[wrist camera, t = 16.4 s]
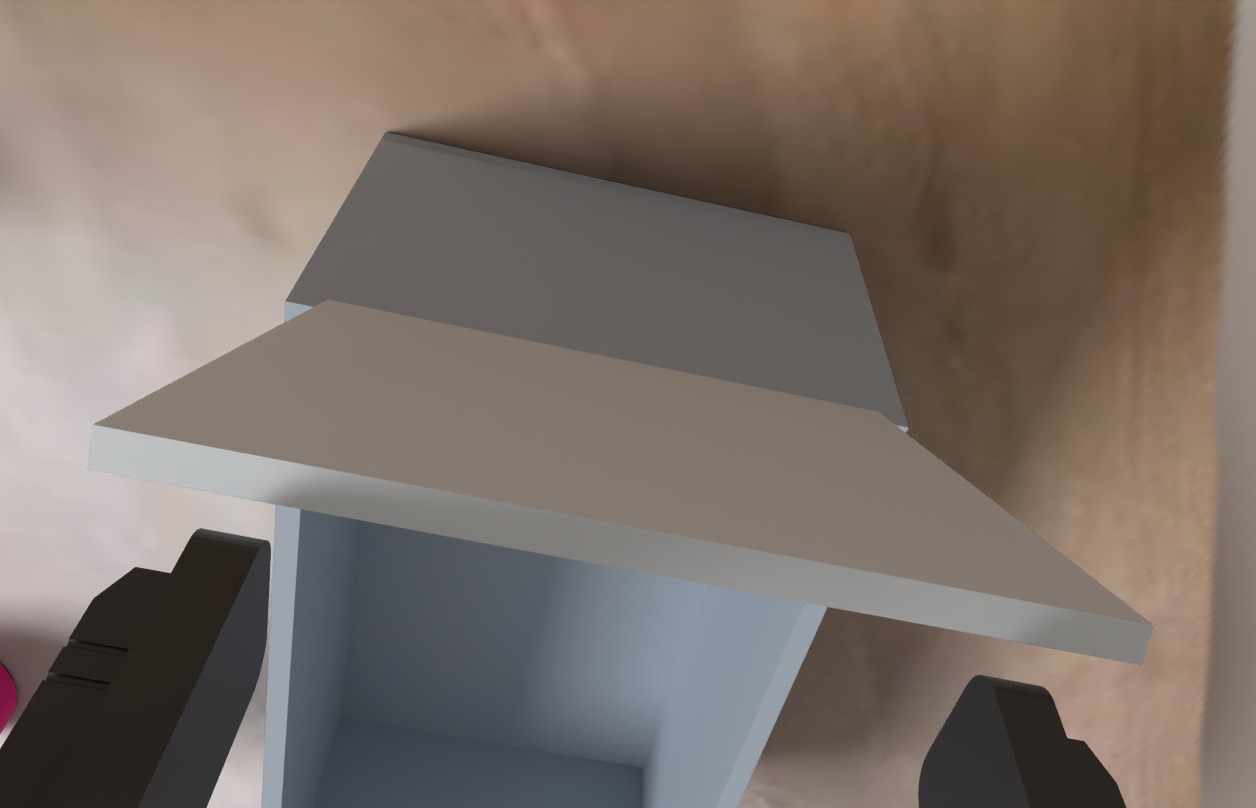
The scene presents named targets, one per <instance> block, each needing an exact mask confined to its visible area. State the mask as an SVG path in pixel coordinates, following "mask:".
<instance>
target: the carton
mask: <svg viewBox="0 0 1256 808" xmlns="http://www.w3.org/2000/svg"><path fill="white" fill-rule="evenodd" d="M326 300H332V301H337V302H342V303H347V304H352V305H357V306H362V307H367V308H372V309H376V310H381V311H386V312H391V313H396V314H401V315H406V316H411V317H416V318H421V319H426V320H430V321H435V322H440V323H445V324H450V325H455V326H460V327H465V328H470V329H475V330H480V331H484V332H489V333H494V334H499V335H504V336H509V337H514V338H519V339H524V340H529V341H534V342H538V343H543V344H548V345H553V346H558V347H563V348H568V349H573V350H578V351H583V352H588V353H592V354H597V355H602V356H607V357H612V358H617V359H622V360H627V361H632V362H637V363H642V364H646V365H651V366H656V367H661V368H666V369H671V370H676V371H681V372H686V373H691V374H696V375H700V376H705V377H710V378H715V379H720V380H725V381H730V382H735V383H740V384H745V385H750V386H754V387H759V388H764V389H769V390H774V391H779V392H784V393H789V394H794V395H799V396H804V397H808V398H813V399H818V400H823V401H828V402H833V403H838V404H843V405H848V406H853V407H857V408H862V409H867V410H872V411H877V412H879V413H881V414H882V415H883V416H884V417H886V418H887V419H888V420H890V421H891V422H892V423H893V424H895V425H896V426H897V427H899V428H900V429H901V430H902V431H904V432H905V433H906V432H907V430H908V428H909V427H908V424H907V421H906V417H905V414H904V411H903V407H902V404H901V401H900V397H899V394H898V391H897V388H896V384H895V381H894V378H893V374H892V371H891V368H890V364H889V361H888V358H887V354H886V351H885V348H884V344H883V341H882V338H881V335H880V331H879V328H878V325H877V321H876V318H875V315H874V311H873V308H872V305H871V301H870V298H869V295H868V292H867V288H866V285H865V282H864V278H863V275H862V272H861V268H860V265H859V262H858V258H857V255H856V252H855V248H854V245H853V242H852V239H851V235H850V234H849V233H845V232H840V231H836V230H831V229H827V228H822V227H817V226H813V225H808V224H804V223H799V222H795V221H790V220H785V219H781V218H776V217H772V216H767V215H763V214H758V213H753V212H749V211H744V210H740V209H735V208H731V207H726V206H722V205H717V204H712V203H708V202H703V201H699V200H694V199H690V198H685V197H680V196H676V195H671V194H667V193H662V192H658V191H653V190H649V189H644V188H639V187H635V186H630V185H626V184H621V183H617V182H612V181H607V180H603V179H598V178H594V177H589V176H585V175H580V174H575V173H571V172H566V171H562V170H557V169H553V168H548V167H544V166H539V165H534V164H530V163H525V162H521V161H516V160H512V159H507V158H502V157H498V156H493V155H489V154H484V153H480V152H475V151H471V150H466V149H461V148H457V147H452V146H448V145H443V144H439V143H434V142H429V141H425V140H420V139H416V138H411V137H407V136H402V135H397V134H393V133H388V132H385V134H384V136H383V137H382V139H381V141H380V142H379V144H378V146H377V148H376V149H375V151H374V153H373V154H372V156H371V158H370V159H369V161H368V163H367V164H366V166H365V168H364V169H363V171H362V173H361V175H360V176H359V178H358V180H357V181H356V183H355V185H354V186H353V188H352V190H351V191H350V193H349V195H348V196H347V198H346V200H345V202H344V203H343V205H342V207H341V208H340V210H339V212H338V213H337V215H336V217H335V218H334V220H333V222H332V223H331V225H330V227H329V229H328V230H327V232H326V234H325V235H324V237H323V239H322V240H321V242H320V244H319V245H318V247H317V249H316V250H315V252H314V254H313V255H312V257H311V259H310V261H309V262H308V264H307V266H306V267H305V269H304V271H303V272H302V274H301V276H300V277H299V279H298V281H297V282H296V284H295V286H294V288H293V289H292V291H291V293H290V294H289V296H288V298H287V299H286V301H285V320H284V323H285V322H287V321H289V320H290V319H292V318H294V317H296V316H298V315H300V314H302V313H304V312H305V311H307V310H309V309H311V308H313V307H315V306H317V305H319V304H320V303H322V302H324V301H326ZM826 610H827V607H826V606H820V605H815V604H810V603H804V602H799V601H793V600H788V599H783V598H777V597H772V596H766V595H761V594H756V593H750V592H745V591H739V590H734V589H729V588H723V587H718V586H712V585H707V584H702V583H696V582H691V581H686V580H680V579H675V578H669V577H664V576H659V575H653V574H648V573H642V572H637V571H632V570H626V569H621V568H615V567H610V566H605V565H599V564H594V563H588V562H583V561H578V560H572V559H567V558H561V557H556V556H551V555H545V554H540V553H535V552H529V551H524V550H518V549H513V548H508V547H502V546H497V545H491V544H486V543H481V542H475V541H470V540H464V539H459V538H454V537H448V536H443V535H437V534H432V533H427V532H421V531H416V530H410V529H405V528H400V527H394V526H389V525H384V524H378V523H373V522H367V521H362V520H357V519H351V518H346V517H340V516H335V515H330V514H324V513H319V512H313V511H308V510H303V509H297V508H292V507H286V506H281V505H276V510H275V531H274V552H273V573H272V594H271V615H270V636H269V658H268V679H267V700H266V721H265V742H264V763H263V784H262V805H261V808H737V807H738V805H739V802H740V800H741V798H742V796H743V793H744V791H745V789H746V787H747V785H748V782H749V780H750V778H751V776H752V774H753V771H754V769H755V767H756V765H757V762H758V760H759V758H760V756H761V754H762V751H763V749H764V747H765V745H766V742H767V740H768V738H769V736H770V734H771V731H772V729H773V727H774V725H775V723H776V720H777V718H778V716H779V714H780V711H781V709H782V707H783V705H784V703H785V700H786V698H787V696H788V694H789V692H790V689H791V687H792V685H793V683H794V680H795V678H796V676H797V674H798V672H799V669H800V667H801V665H802V663H803V661H804V658H805V656H806V654H807V652H808V649H809V647H810V645H811V643H812V641H813V638H814V636H815V634H816V632H817V630H818V627H819V625H820V623H821V621H822V618H823V616H824V614H825V612H826Z"/></svg>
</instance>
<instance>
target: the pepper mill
mask: <svg viewBox="0 0 1256 808" xmlns="http://www.w3.org/2000/svg"><path fill="white" fill-rule="evenodd" d="M16 705H17V692H16V687H15V685H14V683H13V680H12V678H11V676H10V675H9V674H8V672H7V671H6V670H5V669H4V667H3V666H2V665H1V664H0V734H1V732H2V731H3V729H4V727H5V726H6V724H7V723H8V721H9V719H10V718H11V716H12V715H13V713H14V711H15V709H16Z"/></svg>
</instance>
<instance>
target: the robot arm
mask: <svg viewBox="0 0 1256 808" xmlns="http://www.w3.org/2000/svg"><path fill="white" fill-rule="evenodd" d="M270 560H271V547H270V543H269V541H266V540H261V539H256V538H250V537H245V536H239V535H234V534H229V533H223V532H218V531H212V530H207V529H202V528H200V529H198V530H197V531H195V533H194V534H193V535H192V537H191V538H190V540H189V542H188V543H187V545H186V547H185V549H184V551H183V552H182V554H181V556H180V558H179V560H178V561H177V563H176V565H175V567H174V569H173V570H172V572H171V573H166V572H160V571H155V570H149V569H144V568H138V567H135V568H134V569H132V570H131V571H130V572H128V573H127V574H126V575H124V576H123V577H122V578H120V579H119V580H118V581H116V582H115V583H114V584H112V585H111V586H110V587H108V588H107V589H106V590H104V591H103V592H102V593H100V594H99V595H98V596H96V597H95V598H94V599H93V600H92V602H91V604H90V605H89V607H88V608H87V610H86V612H85V613H84V615H83V617H82V618H81V620H80V621H79V623H78V625H77V626H76V628H75V629H74V631H73V633H72V634H71V636H70V637H69V642H68V645H67V647H63V649H62V650H61V652H60V654H59V655H58V657H57V658H56V660H55V662H54V663H53V665H52V666H51V668H50V670H49V671H48V676H47V679H46V680H45V681H44V680H43V681H42V683H41V684H40V686H39V687H38V689H37V691H36V692H35V694H34V695H33V697H32V699H31V700H30V702H29V703H28V705H27V707H26V708H25V710H24V712H23V713H22V715H21V716H20V718H19V720H18V721H17V723H16V724H15V726H14V728H13V729H12V731H11V732H10V734H9V736H8V737H7V739H6V741H5V742H4V744H3V745H2V747H1V749H0V808H206V807H207V805H208V802H209V800H210V798H211V795H212V793H213V790H214V788H215V785H216V783H217V780H218V778H219V776H220V773H221V771H222V768H223V766H224V763H225V761H226V758H227V756H228V754H229V751H230V749H231V746H232V744H233V741H234V739H235V737H236V734H237V732H238V729H239V727H240V724H241V722H242V719H243V717H244V715H245V712H246V710H247V707H248V705H249V702H250V700H251V697H252V695H253V692H254V690H255V687H256V684H257V681H258V677H259V674H260V670H261V666H262V662H263V657H264V653H265V647H266V639H267V623H268V602H269V581H270ZM918 795H919V808H1126V806H1125V803H1124V801H1123V798H1122V796H1121V793H1120V790H1119V788H1118V785H1117V783H1116V782H1115V780H1114V779H1113V778H1112V776H1111V775H1110V774H1109V773H1108V771H1107V770H1106V769H1105V767H1104V766H1103V765H1102V764H1101V762H1100V761H1099V760H1098V758H1097V757H1096V756H1095V754H1094V753H1093V752H1092V751H1091V749H1090V748H1089V747H1088V745H1087V744H1086V743H1085V742H1084V741H1080V740H1075V739H1069V738H1067V736H1066V733H1065V730H1064V728H1063V725H1062V722H1061V719H1060V717H1059V714H1058V711H1057V708H1056V706H1055V703H1054V700H1053V698H1052V696H1051V695H1050V693H1049V692H1048V691H1047V690H1046V689H1045V688H1044V687H1042V686H1037V685H1032V684H1026V683H1021V682H1015V681H1010V680H1005V679H999V678H994V677H988V676H983V675H978V676H975V677H974V678H972V679H971V680H970V681H969V683H968V684H967V686H966V688H965V689H964V691H963V693H962V694H961V696H960V698H959V700H958V701H957V703H956V705H955V707H954V708H953V710H952V712H951V714H950V715H949V717H948V719H947V720H946V722H945V724H944V726H943V727H942V729H941V731H940V733H939V734H938V736H937V738H936V739H935V741H934V743H933V745H932V746H931V748H930V750H929V752H928V753H927V755H926V757H925V760H924V763H923V766H922V769H921V774H920V780H919V792H918Z"/></svg>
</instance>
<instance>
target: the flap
mask: <svg viewBox="0 0 1256 808" xmlns="http://www.w3.org/2000/svg"><path fill="white" fill-rule="evenodd" d="M88 470H92V471H98V472H103V473H109V474H114V475H119V476H125V477H130V478H135V479H141V480H146V481H152V482H157V483H162V484H168V485H173V486H179V487H184V488H189V489H195V490H200V491H206V492H211V493H216V494H222V495H227V496H233V497H238V498H243V499H249V500H254V501H260V502H265V503H270V504H276V505H281V506H286V507H292V508H297V509H303V510H308V511H313V512H319V513H324V514H330V515H335V516H340V517H346V518H351V519H357V520H362V521H367V522H373V523H378V524H384V525H389V526H394V527H400V528H405V529H410V530H416V531H421V532H427V533H432V534H437V535H443V536H448V537H454V538H459V539H464V540H470V541H475V542H481V543H486V544H491V545H497V546H502V547H508V548H513V549H518V550H524V551H529V552H535V553H540V554H545V555H551V556H556V557H561V558H567V559H572V560H578V561H583V562H588V563H594V564H599V565H605V566H610V567H615V568H621V569H626V570H632V571H637V572H642V573H648V574H653V575H659V576H664V577H669V578H675V579H680V580H686V581H691V582H696V583H702V584H707V585H712V586H718V587H723V588H729V589H734V590H739V591H745V592H750V593H756V594H761V595H766V596H772V597H777V598H783V599H788V600H793V601H799V602H804V603H810V604H815V605H820V606H826V607H831V608H836V609H842V610H847V611H853V612H858V613H863V614H869V615H874V616H880V617H885V618H890V619H896V620H901V621H907V622H912V623H917V624H923V625H928V626H934V627H939V628H944V629H950V630H955V631H961V632H966V633H971V634H977V635H982V636H987V637H993V638H998V639H1004V640H1009V641H1014V642H1020V643H1025V644H1031V645H1036V646H1041V647H1047V648H1052V649H1058V650H1063V651H1068V652H1074V653H1079V654H1085V655H1090V656H1095V657H1101V658H1106V659H1112V660H1117V661H1122V662H1128V663H1133V664H1138V665H1141V664H1142V661H1143V658H1144V655H1145V652H1146V649H1147V646H1148V643H1149V640H1150V636H1151V633H1152V630H1153V627H1154V625H1153V624H1152V623H1150V622H1149V621H1148V620H1146V619H1145V618H1144V617H1143V616H1141V615H1140V614H1139V613H1137V612H1136V611H1135V610H1133V609H1132V608H1131V607H1130V606H1128V605H1127V604H1126V603H1124V602H1123V601H1122V600H1121V599H1119V598H1118V597H1117V596H1115V595H1114V594H1113V593H1112V592H1110V591H1109V590H1108V589H1106V588H1105V587H1104V586H1103V585H1101V584H1100V583H1099V582H1097V581H1096V580H1095V579H1093V578H1092V577H1091V576H1090V575H1088V574H1087V573H1086V572H1084V571H1083V570H1082V569H1081V568H1079V567H1078V566H1077V565H1075V564H1074V563H1073V562H1072V561H1070V560H1069V559H1068V558H1066V557H1065V556H1064V555H1063V554H1061V553H1060V552H1059V551H1057V550H1056V549H1055V548H1053V547H1052V546H1051V545H1050V544H1048V543H1047V542H1046V541H1044V540H1043V539H1042V538H1041V537H1039V536H1038V535H1037V534H1035V533H1034V532H1033V531H1032V530H1030V529H1029V528H1028V527H1026V526H1025V525H1024V524H1023V523H1021V522H1020V521H1019V520H1017V519H1016V518H1015V517H1013V516H1012V515H1011V514H1010V513H1008V512H1007V511H1006V510H1004V509H1003V508H1002V507H1001V506H999V505H998V504H997V503H995V502H994V501H993V500H992V499H990V498H989V497H988V496H986V495H985V494H984V493H983V492H981V491H980V490H979V489H977V488H976V487H975V486H973V485H972V484H971V483H970V482H968V481H967V480H966V479H964V478H963V477H962V476H961V475H959V474H958V473H957V472H955V471H954V470H953V469H952V468H950V467H949V466H948V465H946V464H945V463H944V462H943V461H941V460H940V459H939V458H937V457H936V456H935V455H933V454H932V453H931V452H930V451H928V450H927V449H926V448H924V447H923V446H922V445H921V444H919V443H918V442H917V441H915V440H914V439H913V438H912V437H910V436H909V435H908V434H906V433H905V432H904V431H902V430H901V429H900V428H899V427H897V426H896V425H895V424H893V423H892V422H891V421H890V420H888V419H887V418H886V417H884V416H883V415H882V414H881V413H879V412H877V411H872V410H867V409H862V408H857V407H853V406H848V405H843V404H838V403H833V402H828V401H823V400H818V399H813V398H808V397H804V396H799V395H794V394H789V393H784V392H779V391H774V390H769V389H764V388H759V387H754V386H750V385H745V384H740V383H735V382H730V381H725V380H720V379H715V378H710V377H705V376H700V375H696V374H691V373H686V372H681V371H676V370H671V369H666V368H661V367H656V366H651V365H646V364H642V363H637V362H632V361H627V360H622V359H617V358H612V357H607V356H602V355H597V354H592V353H588V352H583V351H578V350H573V349H568V348H563V347H558V346H553V345H548V344H543V343H538V342H534V341H529V340H524V339H519V338H514V337H509V336H504V335H499V334H494V333H489V332H484V331H480V330H475V329H470V328H465V327H460V326H455V325H450V324H445V323H440V322H435V321H430V320H426V319H421V318H416V317H411V316H406V315H401V314H396V313H391V312H386V311H381V310H376V309H372V308H367V307H362V306H357V305H352V304H347V303H342V302H337V301H332V300H326V301H324V302H322V303H320V304H319V305H317V306H315V307H313V308H311V309H309V310H307V311H305V312H304V313H302V314H300V315H298V316H296V317H294V318H292V319H290V320H289V321H287V322H285V323H283V324H281V325H279V326H277V327H275V328H274V329H272V330H270V331H268V332H266V333H264V334H262V335H260V336H259V337H257V338H255V339H253V340H251V341H249V342H247V343H245V344H244V345H242V346H240V347H238V348H236V349H234V350H232V351H230V352H229V353H227V354H225V355H223V356H221V357H219V358H217V359H215V360H214V361H212V362H210V363H208V364H206V365H204V366H202V367H200V368H199V369H197V370H195V371H193V372H191V373H189V374H187V375H185V376H184V377H182V378H180V379H178V380H176V381H174V382H172V383H170V384H168V385H167V386H165V387H163V388H161V389H159V390H157V391H155V392H153V393H152V394H150V395H148V396H146V397H144V398H142V399H140V400H138V401H137V402H135V403H133V404H131V405H129V406H127V407H125V408H123V409H122V410H120V411H118V412H116V413H114V414H112V415H110V416H108V417H107V418H105V419H103V420H101V421H99V422H97V423H95V424H93V430H92V438H91V446H90V454H89V463H88Z"/></svg>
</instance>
